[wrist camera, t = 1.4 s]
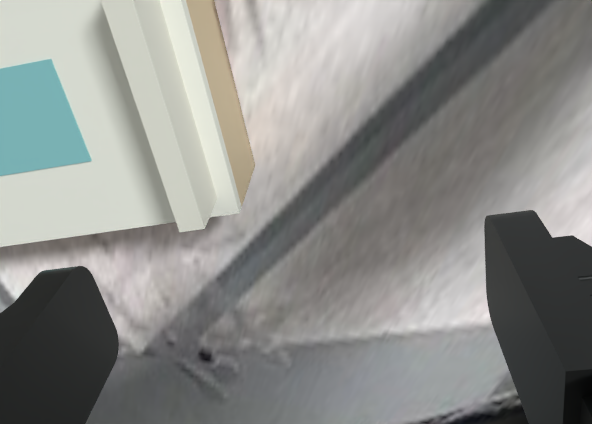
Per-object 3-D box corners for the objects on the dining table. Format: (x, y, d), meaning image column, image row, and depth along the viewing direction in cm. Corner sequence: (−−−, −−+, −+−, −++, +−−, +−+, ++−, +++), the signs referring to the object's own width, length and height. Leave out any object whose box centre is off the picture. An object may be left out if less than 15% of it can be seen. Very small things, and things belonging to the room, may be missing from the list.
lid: (166, -72, 22) (137, -69, 19) (241, 206, 28) (229, 245, 25) (-208, 12, 25) (-290, 27, 22) (-66, 250, 31) (-113, 290, 28)
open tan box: (195, -75, 27) (166, -73, 22) (255, 165, 33) (241, 206, 28) (-123, -4, 29) (-207, 12, 25) (-14, 206, 35) (-66, 250, 31)
